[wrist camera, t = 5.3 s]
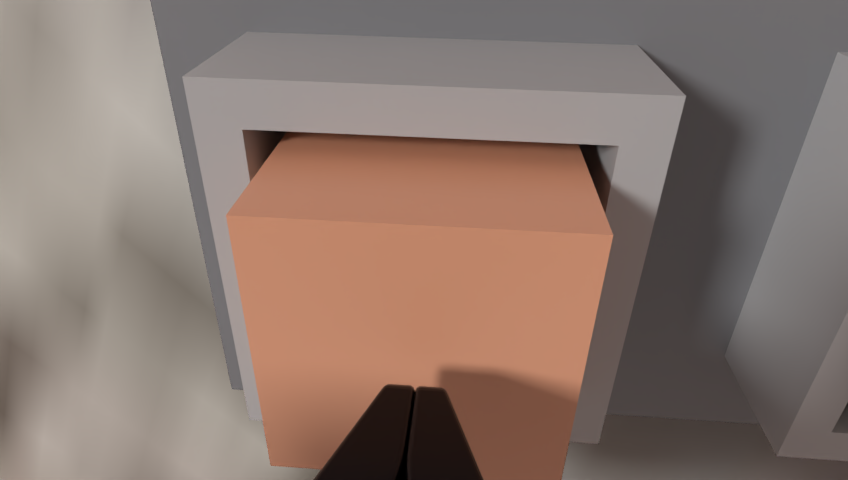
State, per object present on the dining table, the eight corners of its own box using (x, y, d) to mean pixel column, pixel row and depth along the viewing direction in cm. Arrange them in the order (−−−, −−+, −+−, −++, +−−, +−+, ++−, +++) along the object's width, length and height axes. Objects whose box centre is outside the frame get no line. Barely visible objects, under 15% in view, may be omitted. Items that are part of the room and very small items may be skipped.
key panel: (1004, 388, 17) (1178, 556, 13) (254, 341, 18) (187, 482, 14) (1349, -86, 11) (1908, -62, 7) (176, -111, 12) (14, -103, 8)
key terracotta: (542, 364, 13) (559, 486, 10) (310, 349, 13) (270, 465, 10) (578, 144, 10) (613, 235, 8) (287, 131, 10) (226, 215, 8)
